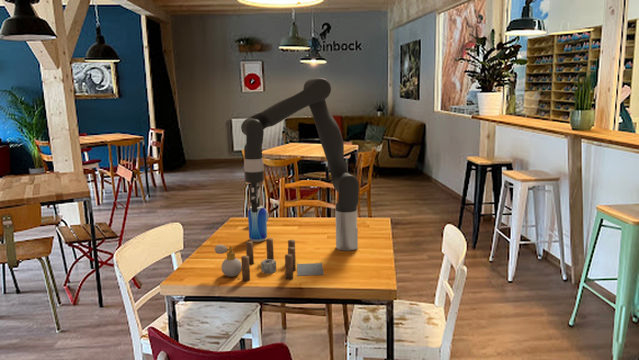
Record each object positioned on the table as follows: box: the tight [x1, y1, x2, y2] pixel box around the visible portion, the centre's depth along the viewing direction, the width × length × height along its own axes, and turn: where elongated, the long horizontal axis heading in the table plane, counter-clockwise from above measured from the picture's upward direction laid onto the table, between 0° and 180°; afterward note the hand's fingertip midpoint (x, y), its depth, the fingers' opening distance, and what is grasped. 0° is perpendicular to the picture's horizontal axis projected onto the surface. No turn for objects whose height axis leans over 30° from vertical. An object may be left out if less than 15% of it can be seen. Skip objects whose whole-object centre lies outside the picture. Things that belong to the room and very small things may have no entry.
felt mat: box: [296, 262, 325, 277], centre depth 184 cm, size 10×12×1 cm
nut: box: [260, 258, 277, 275], centre depth 183 cm, size 6×5×4 cm
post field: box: [240, 237, 297, 282], centre depth 184 cm, size 20×23×9 cm
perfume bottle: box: [214, 244, 242, 278], centre depth 178 cm, size 8×10×12 cm
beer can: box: [247, 204, 268, 243], centre depth 220 cm, size 8×8×16 cm
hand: (255, 209), depth 188 cm, fingers open, 8 cm apart
